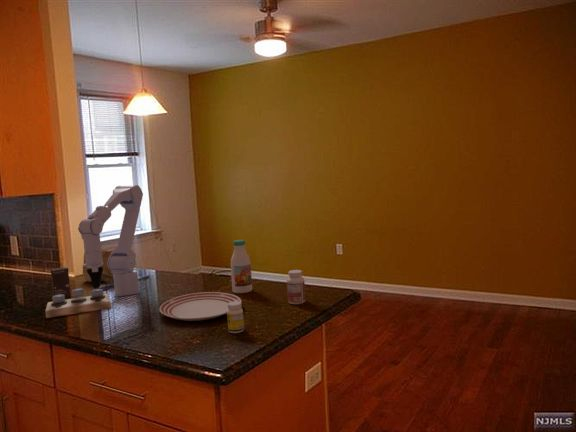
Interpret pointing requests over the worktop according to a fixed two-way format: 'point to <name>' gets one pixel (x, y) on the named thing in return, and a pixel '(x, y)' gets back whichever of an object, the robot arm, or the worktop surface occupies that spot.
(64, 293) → the box
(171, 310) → the dinner plate
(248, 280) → the milk bottle
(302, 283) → the pill bottle
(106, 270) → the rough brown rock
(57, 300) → the button
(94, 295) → the button
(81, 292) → the button middle
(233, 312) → the supplement bottle
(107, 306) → the button board
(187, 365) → the worktop surface
